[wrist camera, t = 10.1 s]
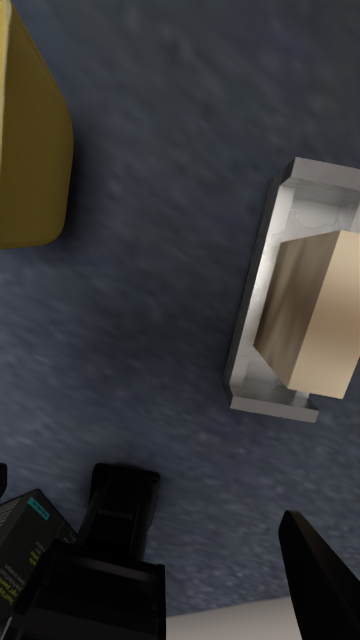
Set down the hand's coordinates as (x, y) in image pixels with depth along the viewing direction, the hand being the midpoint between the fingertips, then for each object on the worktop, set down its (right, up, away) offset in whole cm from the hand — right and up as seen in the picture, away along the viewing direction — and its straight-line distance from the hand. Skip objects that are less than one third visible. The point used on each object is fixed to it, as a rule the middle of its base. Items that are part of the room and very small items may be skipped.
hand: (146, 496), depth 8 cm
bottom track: (+9, +7, +11) cm, 16 cm away
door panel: (+9, +7, +11) cm, 16 cm away
